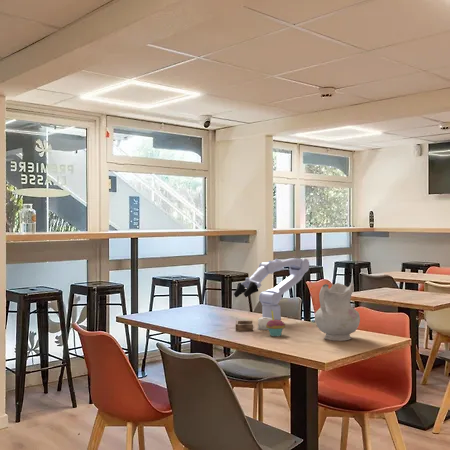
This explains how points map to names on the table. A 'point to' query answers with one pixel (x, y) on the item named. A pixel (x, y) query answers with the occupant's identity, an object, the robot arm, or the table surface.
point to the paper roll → (263, 323)
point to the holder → (244, 326)
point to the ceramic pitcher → (337, 312)
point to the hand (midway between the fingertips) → (239, 295)
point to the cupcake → (275, 326)
